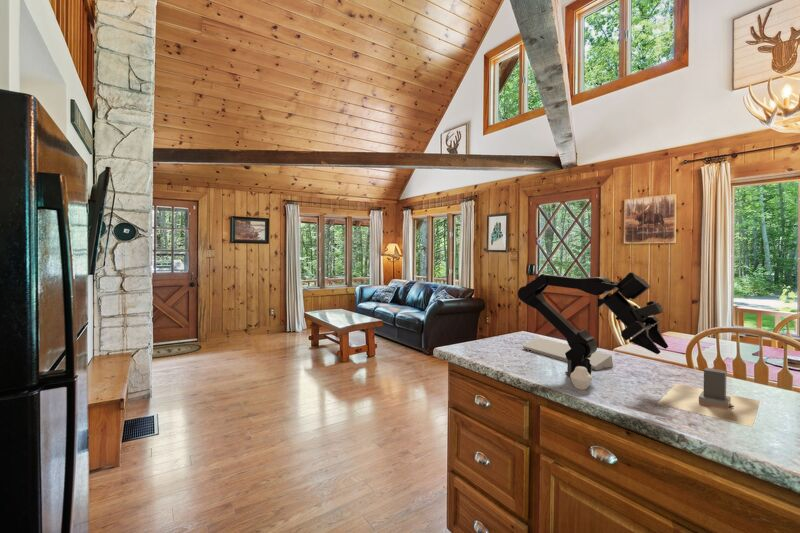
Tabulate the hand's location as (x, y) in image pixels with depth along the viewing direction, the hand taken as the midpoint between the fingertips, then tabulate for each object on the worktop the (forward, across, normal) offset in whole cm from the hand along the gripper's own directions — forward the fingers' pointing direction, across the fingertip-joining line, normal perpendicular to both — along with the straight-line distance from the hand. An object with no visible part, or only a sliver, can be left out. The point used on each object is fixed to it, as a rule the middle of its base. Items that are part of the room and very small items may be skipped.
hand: (663, 350), depth 111 cm
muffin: (-4, -11, +23) cm, 26 cm away
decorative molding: (-16, +21, +37) cm, 45 cm away
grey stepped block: (+17, 0, 0) cm, 17 cm away
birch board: (+17, 0, +2) cm, 17 cm away
